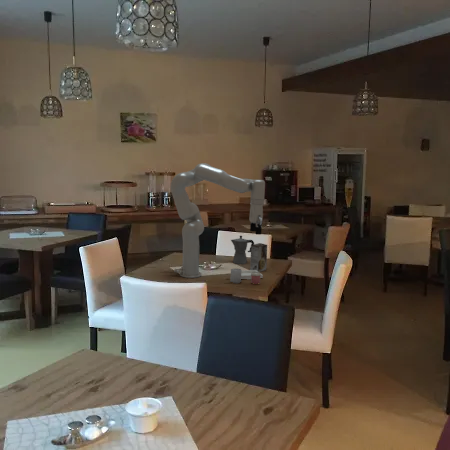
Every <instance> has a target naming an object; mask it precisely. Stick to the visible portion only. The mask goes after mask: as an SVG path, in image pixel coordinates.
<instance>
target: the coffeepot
mask: <svg viewBox="0 0 450 450" xmlns="http://www.w3.org/2000/svg"><path fill="white" fill-rule="evenodd" d="M230 242H231V243H232V245H233V246H234V251H235V252H234V255H233V259H232V262H233V264H235V265H236V264H237V265H246V264H247V263H248V260H247V253H251V245H254V244H255V242H254V240H253V239H245V238H243V236H242V235H239V238H233V239H230ZM248 244H250V247H249V250H247V248H248ZM246 251H247V253H246Z"/></svg>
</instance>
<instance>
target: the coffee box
mask: <svg viewBox="0 0 450 450" xmlns="http://www.w3.org/2000/svg"><path fill="white" fill-rule="evenodd" d="M250 247H251V252H250V260H249V261H250V266H249V267H250V268H249V270H257V271H258V272H259V273H261V272H265V271H267V266H268V265H267V261H268V244H266V243H258V242H257V243H254V245H251V244H250Z"/></svg>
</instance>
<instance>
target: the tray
mask: <svg viewBox="0 0 450 450" xmlns="http://www.w3.org/2000/svg"><path fill="white" fill-rule="evenodd" d="M241 270H242V269H241ZM252 272H258V271H257V270H250V269H248V270H247V269H246V270H245V269H244V270H242V271H241V279H247V280H251V273H252ZM260 278H264V276H263V274H262V273H261V275H260Z"/></svg>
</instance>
